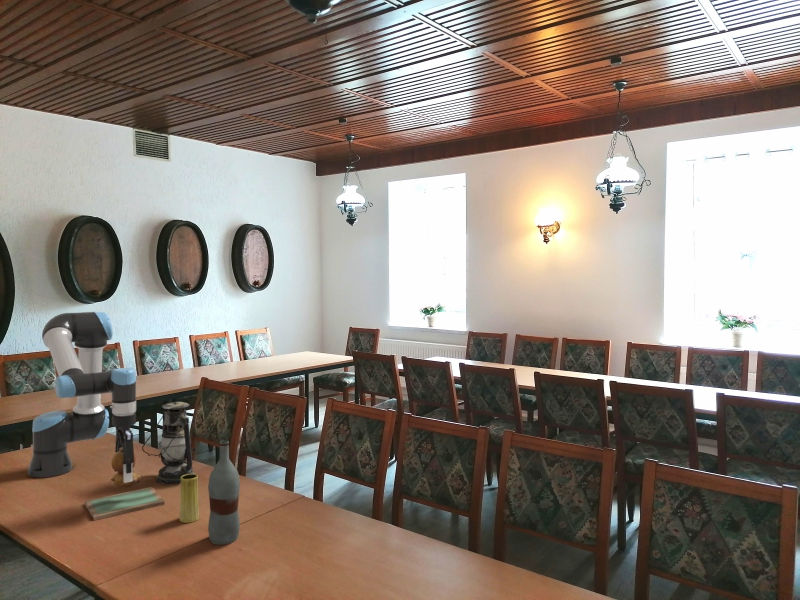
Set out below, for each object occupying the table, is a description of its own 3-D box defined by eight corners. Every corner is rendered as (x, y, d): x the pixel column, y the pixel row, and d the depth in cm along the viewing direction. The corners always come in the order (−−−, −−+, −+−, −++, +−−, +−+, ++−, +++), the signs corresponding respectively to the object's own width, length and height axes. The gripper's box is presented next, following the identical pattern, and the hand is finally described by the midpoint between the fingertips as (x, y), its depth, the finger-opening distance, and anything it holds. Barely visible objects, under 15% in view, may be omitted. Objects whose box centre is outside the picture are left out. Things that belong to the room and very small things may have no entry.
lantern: (207, 477, 226) (206, 402, 224) (164, 492, 210) (164, 411, 208) (176, 467, 236) (176, 396, 234) (134, 481, 220) (133, 404, 218)
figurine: (146, 480, 202) (140, 442, 198) (134, 492, 195) (128, 454, 191) (120, 479, 203) (113, 441, 199) (107, 491, 196) (100, 453, 192)
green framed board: (84, 504, 198) (84, 500, 198) (151, 490, 212) (151, 486, 212) (94, 520, 185) (94, 516, 185) (164, 504, 199) (164, 500, 199)
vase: (203, 517, 189) (203, 475, 188) (189, 524, 184) (189, 481, 183) (189, 513, 192) (189, 472, 191) (175, 520, 186) (175, 477, 185)
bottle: (210, 548, 168) (210, 448, 167) (205, 535, 176) (205, 439, 175) (242, 541, 173) (243, 444, 171) (236, 529, 181) (236, 436, 179)
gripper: (105, 409, 203) (106, 471, 204) (119, 421, 186) (120, 489, 187) (128, 406, 208) (128, 467, 209) (144, 418, 191) (144, 484, 192)
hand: (124, 477), depth 198 cm, fingers closed on figurine, 9 cm apart
